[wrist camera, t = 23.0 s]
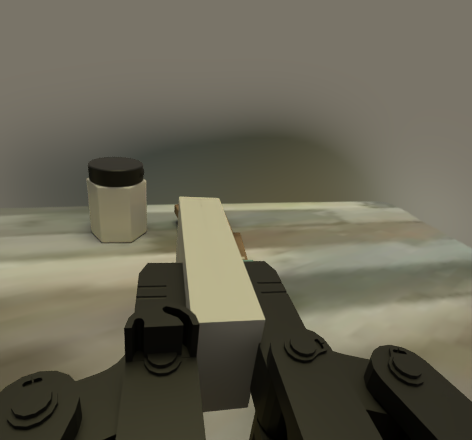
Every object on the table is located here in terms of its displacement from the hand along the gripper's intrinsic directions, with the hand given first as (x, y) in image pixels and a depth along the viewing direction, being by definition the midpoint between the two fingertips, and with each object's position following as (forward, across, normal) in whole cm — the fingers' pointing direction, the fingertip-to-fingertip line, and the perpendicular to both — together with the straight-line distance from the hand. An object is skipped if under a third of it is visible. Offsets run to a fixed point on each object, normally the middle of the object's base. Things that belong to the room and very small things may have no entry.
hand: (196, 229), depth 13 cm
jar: (+41, -8, -22) cm, 47 cm away
